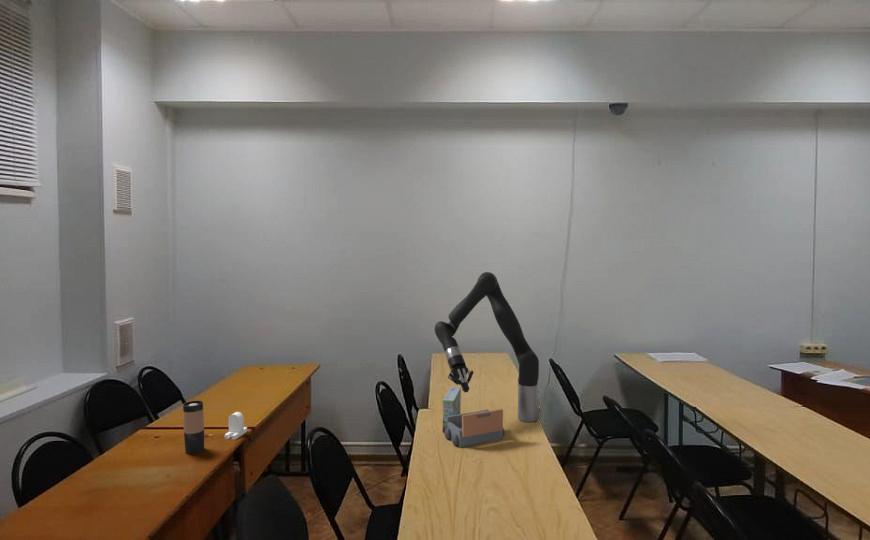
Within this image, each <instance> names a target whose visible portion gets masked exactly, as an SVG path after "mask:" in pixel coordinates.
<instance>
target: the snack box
mask: <svg viewBox="0 0 870 540" xmlns="http://www.w3.org/2000/svg"><path fill="white" fill-rule="evenodd" d="M461 396H462V387H460V386H459V387H456V386H450V387H449V389H448V391H447V393H446V394H445V396H444V398H443V399H442V433H444V431H445V429H446V416H452V415H458V414H461V407H462V406H461V401H462V400H461V399H462V398H461Z"/></svg>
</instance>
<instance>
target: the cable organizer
mask: <svg viewBox="0 0 870 540" xmlns="http://www.w3.org/2000/svg"><path fill="white" fill-rule="evenodd" d="M244 420H245V419H244V415H243V413H241V411H235V412H234V413H231V414H230V415H229V416H228V421H227V422H228V432H226V433H225V434H224V440H229V439H231V440H233V441H235V440H237V439H239V438H240V437H241V436H243V435H245V434H246V433H247V432H248V427H247V426H245V425H244V422H245V421H244Z"/></svg>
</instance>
